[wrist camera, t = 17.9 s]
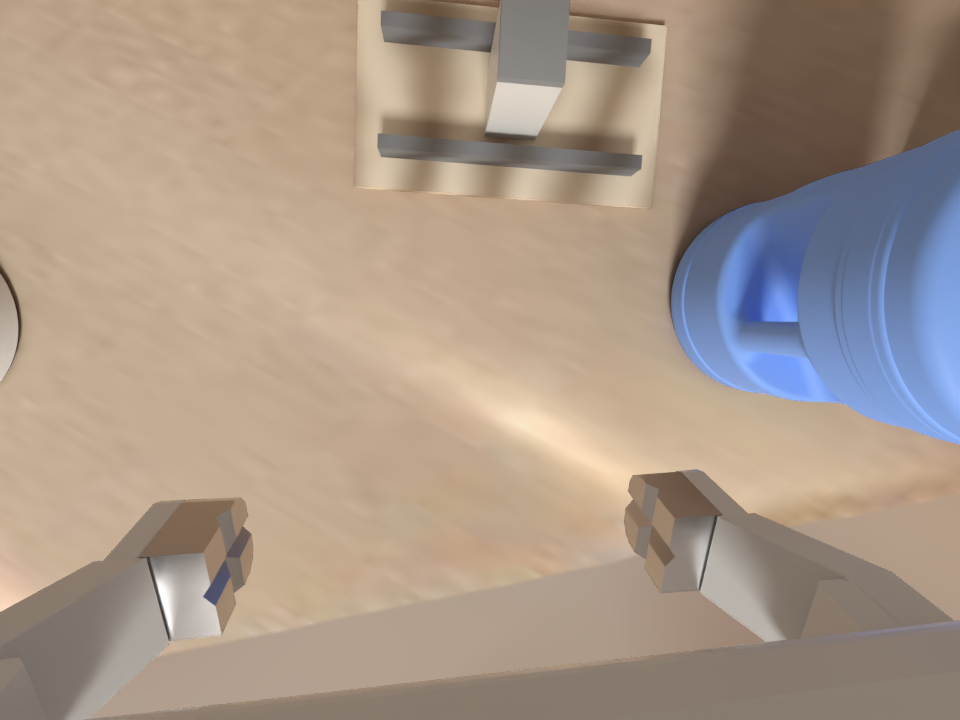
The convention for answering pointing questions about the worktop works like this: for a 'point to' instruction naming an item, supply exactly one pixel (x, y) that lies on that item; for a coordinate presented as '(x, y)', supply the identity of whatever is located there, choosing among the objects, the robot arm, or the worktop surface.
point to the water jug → (838, 292)
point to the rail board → (462, 109)
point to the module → (526, 66)
